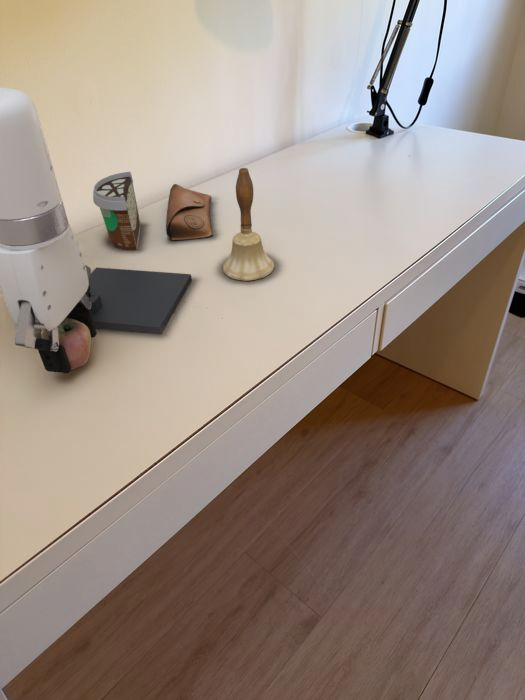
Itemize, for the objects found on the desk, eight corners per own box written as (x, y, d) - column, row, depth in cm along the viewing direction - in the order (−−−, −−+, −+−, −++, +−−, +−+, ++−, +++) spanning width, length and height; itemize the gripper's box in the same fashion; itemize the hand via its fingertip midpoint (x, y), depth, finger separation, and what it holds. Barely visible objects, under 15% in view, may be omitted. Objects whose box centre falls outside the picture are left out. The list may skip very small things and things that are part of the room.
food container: (108, 225, 99) (95, 173, 93) (141, 222, 100) (130, 170, 93) (100, 257, 90) (85, 201, 83) (136, 254, 90) (124, 198, 84)
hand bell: (243, 250, 89) (236, 156, 79) (284, 263, 85) (282, 165, 75) (212, 272, 84) (200, 173, 74) (254, 286, 80) (247, 185, 70)
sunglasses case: (215, 234, 93) (192, 205, 89) (184, 255, 95) (159, 228, 91) (212, 194, 107) (191, 168, 103) (184, 214, 109) (163, 188, 105)
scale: (55, 324, 75) (48, 307, 73) (97, 273, 85) (93, 257, 84) (161, 334, 72) (157, 316, 70) (191, 280, 83) (189, 263, 81)
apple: (38, 386, 63) (22, 348, 60) (56, 344, 70) (43, 307, 66) (87, 384, 63) (75, 346, 60) (102, 343, 70) (91, 306, 66)
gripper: (39, 186, 62) (77, 310, 74) (-57, 259, 49) (7, 396, 61) (98, 189, 61) (127, 315, 72) (15, 266, 48) (67, 405, 59)
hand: (72, 351), depth 66 cm, fingers closed on apple, 6 cm apart
